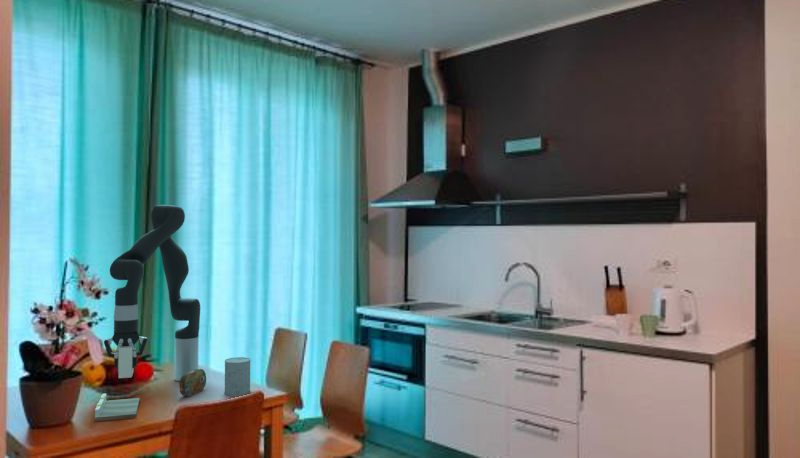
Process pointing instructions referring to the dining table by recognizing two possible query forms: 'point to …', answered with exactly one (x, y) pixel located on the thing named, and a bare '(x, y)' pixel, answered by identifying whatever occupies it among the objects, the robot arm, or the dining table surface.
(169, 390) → the dining table surface
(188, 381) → the tin
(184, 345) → the robot arm
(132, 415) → the shelf board
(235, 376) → the grey stone cylinder
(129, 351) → the carton
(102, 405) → the rail
